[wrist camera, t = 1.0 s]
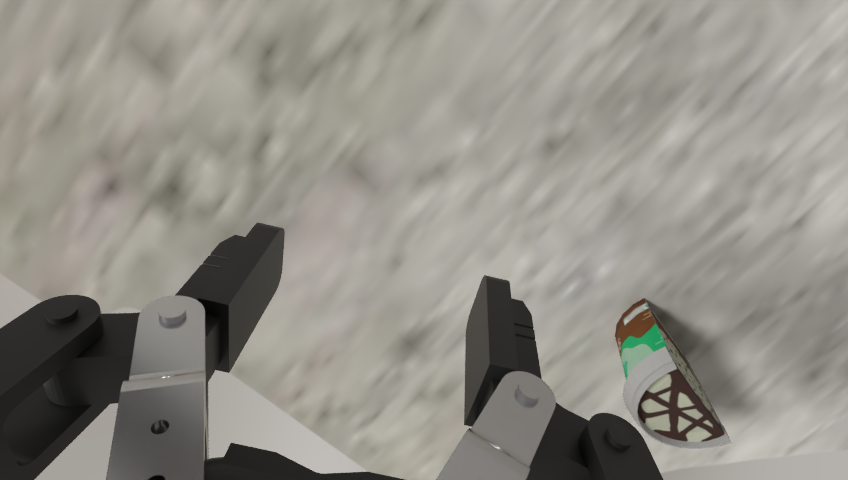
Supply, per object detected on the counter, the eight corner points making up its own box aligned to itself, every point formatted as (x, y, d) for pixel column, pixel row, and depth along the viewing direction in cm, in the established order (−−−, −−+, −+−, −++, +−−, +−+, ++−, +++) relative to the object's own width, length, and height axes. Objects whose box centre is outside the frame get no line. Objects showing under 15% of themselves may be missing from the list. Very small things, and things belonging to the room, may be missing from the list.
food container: (580, 315, 49) (603, 392, 41) (637, 288, 47) (674, 364, 38) (636, 384, 53) (667, 467, 45) (690, 363, 51) (733, 446, 43)
